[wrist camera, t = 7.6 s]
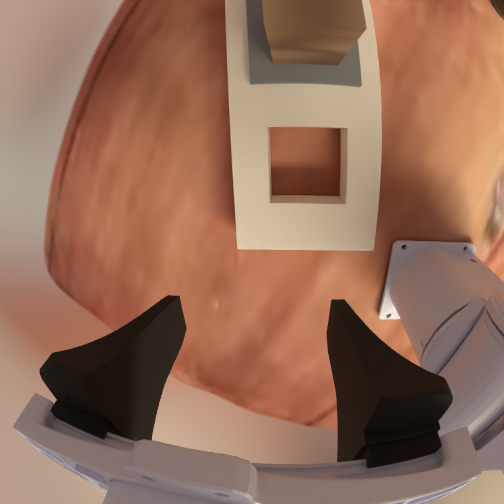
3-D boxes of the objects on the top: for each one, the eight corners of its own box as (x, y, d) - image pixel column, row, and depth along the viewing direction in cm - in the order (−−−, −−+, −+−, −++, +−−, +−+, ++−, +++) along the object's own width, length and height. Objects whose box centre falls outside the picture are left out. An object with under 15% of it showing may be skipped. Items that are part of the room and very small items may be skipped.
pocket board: (359, 2, 13) (367, -11, 11) (365, 238, 21) (373, 250, 19) (231, 0, 14) (224, -13, 12) (242, 236, 22) (237, 249, 20)
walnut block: (332, 14, 12) (352, -39, 5) (337, 65, 13) (366, 29, 7) (269, 13, 12) (258, -43, 6) (273, 64, 14) (263, 23, 8)
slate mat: (349, 1, 11) (351, -2, 11) (359, 87, 14) (361, 85, 14) (246, -1, 12) (245, -5, 12) (251, 84, 15) (249, 83, 15)
